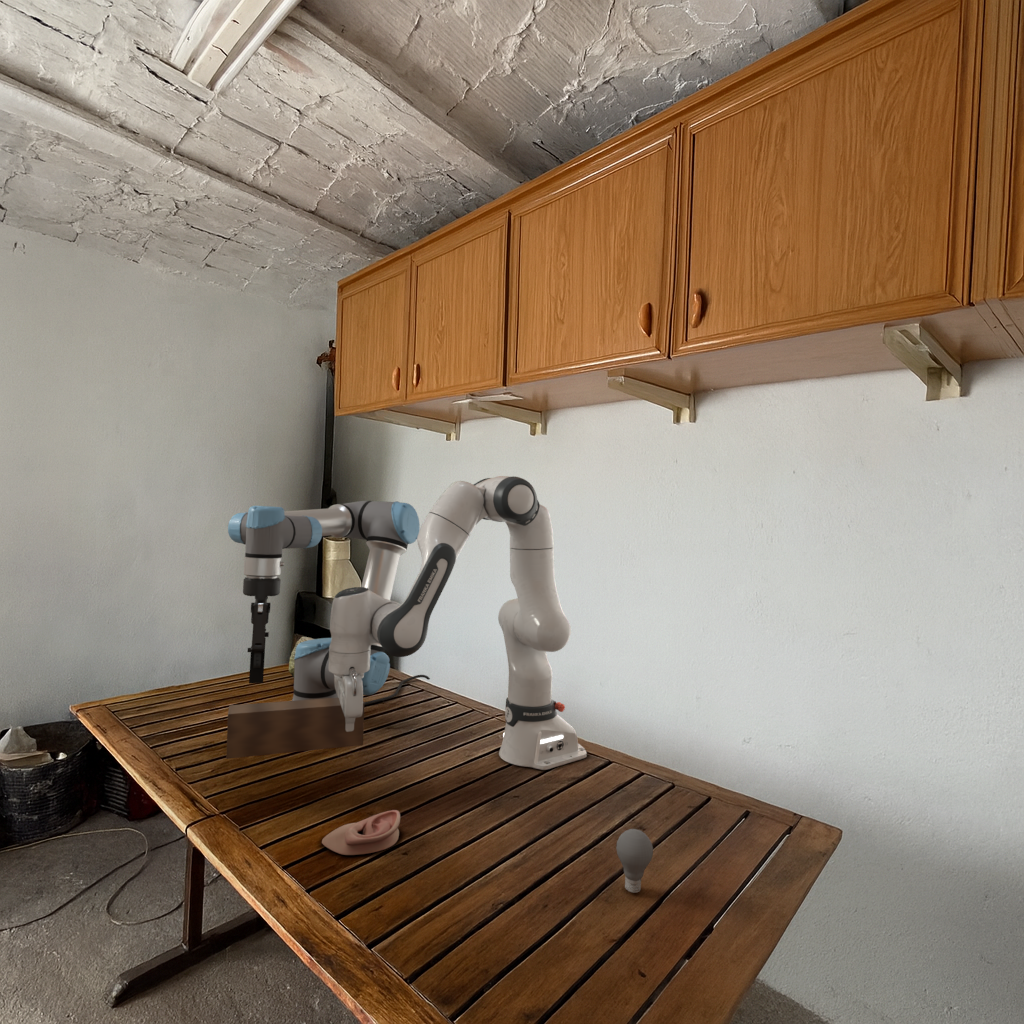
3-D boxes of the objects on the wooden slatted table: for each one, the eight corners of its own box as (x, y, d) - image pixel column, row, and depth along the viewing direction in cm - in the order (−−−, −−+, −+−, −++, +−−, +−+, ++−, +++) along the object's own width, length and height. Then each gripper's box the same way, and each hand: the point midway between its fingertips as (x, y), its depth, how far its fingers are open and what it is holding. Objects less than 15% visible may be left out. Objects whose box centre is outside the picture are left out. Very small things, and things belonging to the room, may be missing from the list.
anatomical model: (313, 828, 113) (343, 799, 125) (313, 850, 113) (342, 819, 125) (383, 839, 111) (407, 808, 122) (382, 862, 111) (406, 829, 122)
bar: (226, 758, 128) (227, 714, 127) (227, 748, 133) (229, 705, 133) (363, 745, 137) (364, 703, 137) (359, 735, 143) (360, 695, 142)
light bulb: (610, 879, 108) (613, 822, 108) (644, 879, 109) (647, 822, 109) (619, 902, 102) (622, 840, 102) (655, 901, 103) (658, 840, 103)
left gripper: (281, 583, 127) (275, 689, 127) (280, 571, 151) (275, 660, 150) (240, 583, 125) (234, 691, 124) (246, 570, 148) (240, 661, 148)
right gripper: (371, 674, 130) (369, 740, 130) (357, 650, 149) (355, 708, 149) (339, 676, 128) (337, 743, 128) (330, 651, 147) (328, 710, 147)
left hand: (256, 674), depth 137 cm, fingers open, 13 cm apart
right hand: (347, 724), depth 139 cm, fingers closed on bar, 5 cm apart
